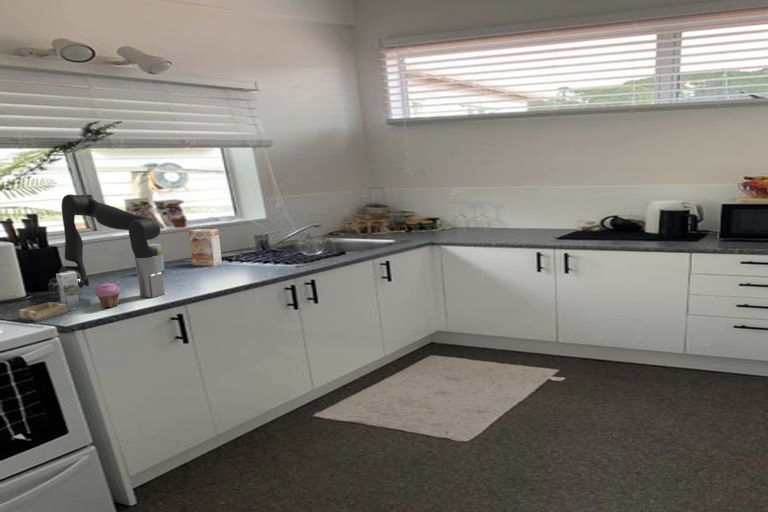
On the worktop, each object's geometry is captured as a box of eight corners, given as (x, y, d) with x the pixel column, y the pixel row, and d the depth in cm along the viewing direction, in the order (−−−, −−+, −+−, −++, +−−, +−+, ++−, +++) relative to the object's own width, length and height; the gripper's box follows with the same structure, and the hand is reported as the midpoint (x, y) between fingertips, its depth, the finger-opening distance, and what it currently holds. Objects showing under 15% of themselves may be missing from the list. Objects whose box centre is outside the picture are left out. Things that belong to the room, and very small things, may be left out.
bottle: (150, 274, 271) (146, 246, 268) (150, 272, 278) (146, 244, 275) (164, 273, 274) (161, 244, 271) (164, 270, 280) (161, 243, 277)
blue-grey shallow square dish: (90, 304, 215) (89, 299, 215) (66, 311, 206) (65, 305, 206) (76, 302, 220) (75, 297, 219) (51, 309, 211) (50, 303, 211)
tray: (67, 313, 204) (66, 304, 203) (36, 321, 194) (35, 312, 193) (50, 310, 209) (49, 301, 209) (19, 318, 199) (18, 309, 199)
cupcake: (112, 310, 206) (108, 285, 204) (92, 309, 207) (88, 285, 205) (126, 303, 214) (123, 280, 212) (108, 303, 216) (104, 280, 214)
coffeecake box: (192, 265, 292) (188, 230, 288) (201, 262, 299) (197, 228, 295) (214, 266, 287) (210, 230, 283) (222, 263, 293) (218, 229, 289)
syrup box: (76, 304, 217) (70, 270, 214) (82, 306, 213) (76, 271, 211) (61, 307, 213) (55, 273, 210) (66, 309, 209) (60, 274, 206)
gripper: (49, 274, 221) (45, 281, 206) (88, 269, 227) (86, 275, 213) (52, 291, 222) (48, 299, 208) (90, 286, 228) (89, 293, 214)
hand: (68, 287), depth 210 cm, fingers open, 8 cm apart
